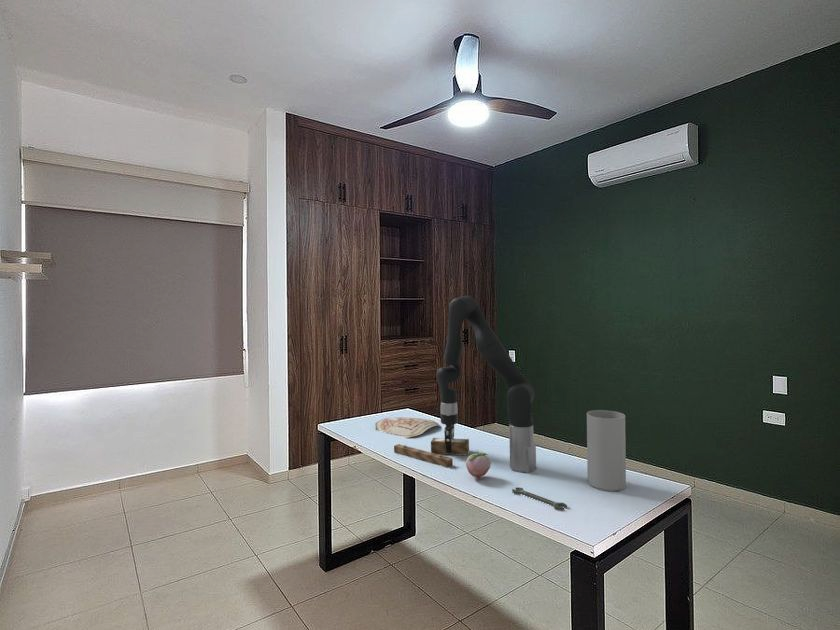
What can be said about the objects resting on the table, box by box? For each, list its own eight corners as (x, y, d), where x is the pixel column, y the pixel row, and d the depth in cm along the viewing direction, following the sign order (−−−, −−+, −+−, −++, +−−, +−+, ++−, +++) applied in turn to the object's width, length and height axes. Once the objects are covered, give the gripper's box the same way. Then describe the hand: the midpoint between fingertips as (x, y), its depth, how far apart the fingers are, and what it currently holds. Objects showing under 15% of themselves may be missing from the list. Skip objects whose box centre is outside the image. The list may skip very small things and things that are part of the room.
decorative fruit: (477, 471, 173) (476, 446, 173) (494, 477, 167) (493, 450, 167) (460, 478, 167) (460, 451, 167) (477, 484, 161) (477, 456, 161)
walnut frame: (469, 450, 198) (468, 438, 198) (467, 454, 192) (467, 442, 192) (433, 448, 201) (433, 437, 201) (431, 453, 196) (430, 441, 195)
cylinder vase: (582, 477, 165) (581, 410, 164) (617, 477, 165) (616, 410, 164) (594, 492, 152) (594, 419, 152) (632, 491, 152) (631, 418, 152)
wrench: (518, 489, 157) (518, 486, 157) (570, 508, 142) (570, 505, 142) (509, 493, 154) (509, 490, 154) (561, 513, 138) (561, 509, 138)
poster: (369, 436, 235) (414, 444, 217) (367, 425, 234) (413, 431, 216) (402, 421, 257) (446, 427, 239) (401, 410, 257) (445, 415, 238)
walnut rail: (452, 465, 180) (452, 456, 180) (448, 467, 178) (447, 458, 178) (398, 450, 200) (398, 442, 200) (394, 452, 198) (394, 444, 198)
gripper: (443, 408, 204) (443, 444, 205) (438, 416, 190) (438, 455, 191) (459, 408, 203) (460, 445, 203) (455, 416, 189) (456, 456, 189)
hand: (449, 450), depth 197 cm, fingers closed on walnut frame, 6 cm apart
